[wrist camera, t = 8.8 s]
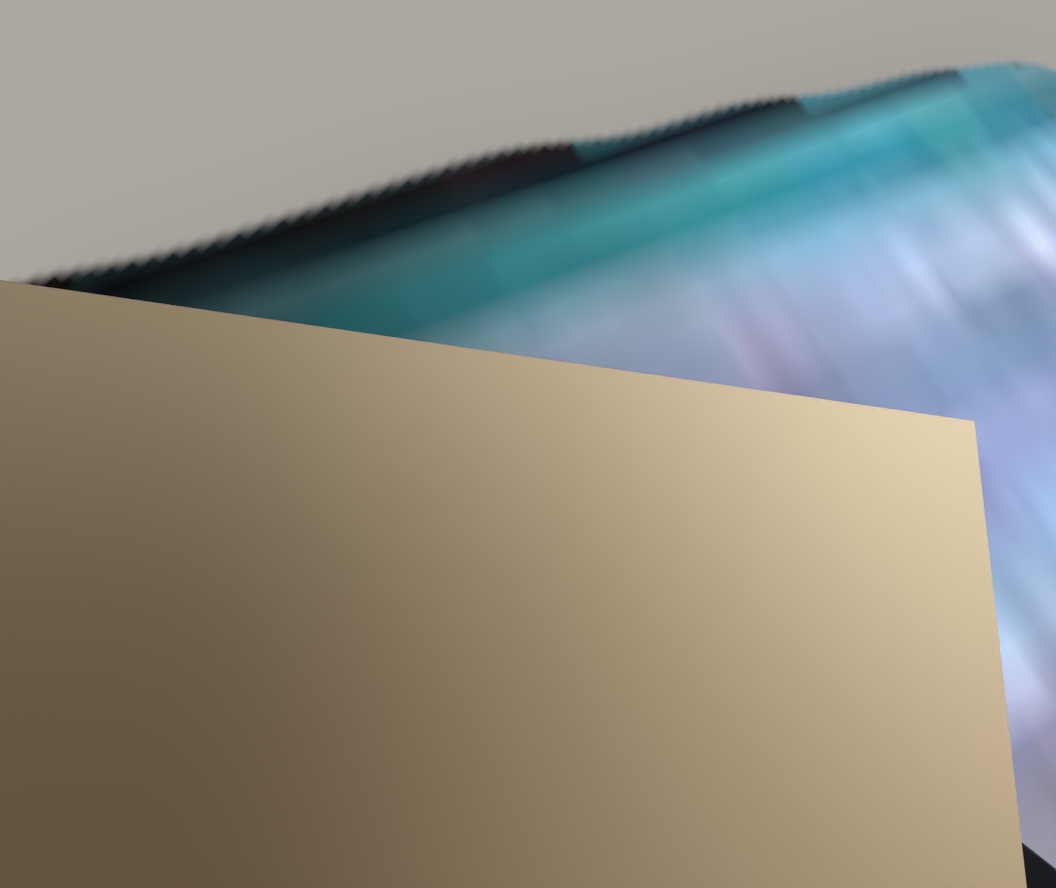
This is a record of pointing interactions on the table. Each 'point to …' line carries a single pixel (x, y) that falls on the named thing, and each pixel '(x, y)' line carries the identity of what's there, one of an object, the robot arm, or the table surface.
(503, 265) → the table surface
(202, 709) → the birch block
